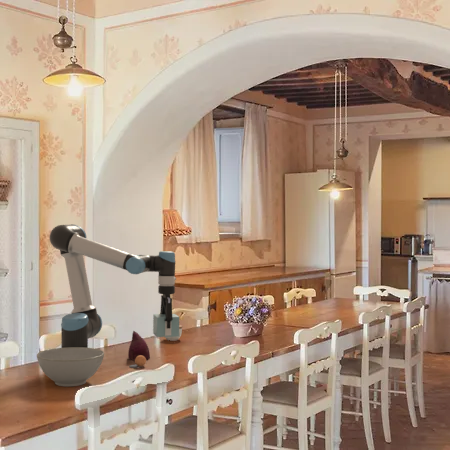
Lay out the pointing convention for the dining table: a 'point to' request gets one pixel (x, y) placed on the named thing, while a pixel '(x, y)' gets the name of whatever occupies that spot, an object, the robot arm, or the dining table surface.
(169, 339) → the lidded jar
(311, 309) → the dining table surface
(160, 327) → the rounded blue-grey cube
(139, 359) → the ball
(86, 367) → the decorative bowl
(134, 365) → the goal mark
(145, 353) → the vegetable
